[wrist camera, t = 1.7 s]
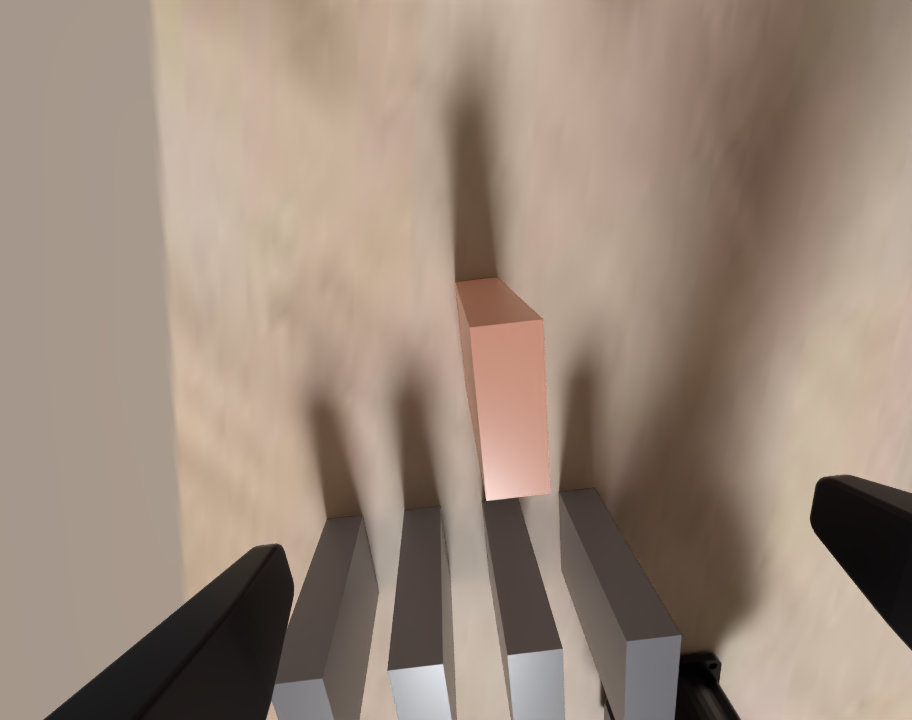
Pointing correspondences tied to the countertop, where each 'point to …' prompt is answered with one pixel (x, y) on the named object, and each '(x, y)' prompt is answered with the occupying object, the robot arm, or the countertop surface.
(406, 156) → the countertop surface
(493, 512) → the domino
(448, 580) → the domino
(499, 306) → the domino
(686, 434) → the countertop surface
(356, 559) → the domino
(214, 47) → the countertop surface
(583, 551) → the domino
